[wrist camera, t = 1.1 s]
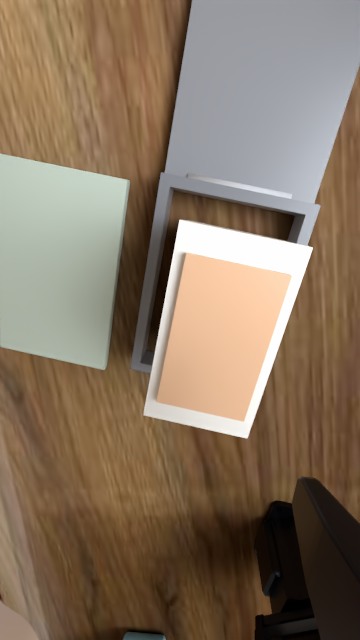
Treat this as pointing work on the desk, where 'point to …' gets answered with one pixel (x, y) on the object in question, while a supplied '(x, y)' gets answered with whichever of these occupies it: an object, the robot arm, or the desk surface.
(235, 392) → the module
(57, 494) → the desk surface
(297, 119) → the grey holder tray
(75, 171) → the sage mat
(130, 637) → the data package
